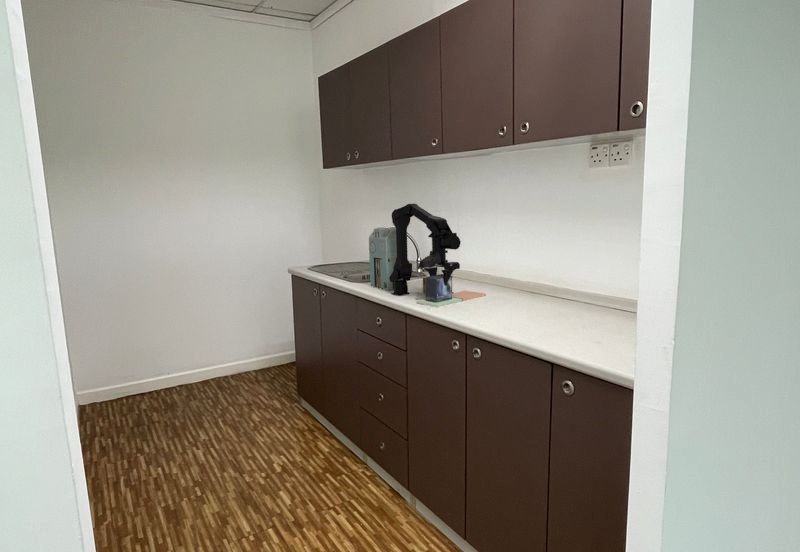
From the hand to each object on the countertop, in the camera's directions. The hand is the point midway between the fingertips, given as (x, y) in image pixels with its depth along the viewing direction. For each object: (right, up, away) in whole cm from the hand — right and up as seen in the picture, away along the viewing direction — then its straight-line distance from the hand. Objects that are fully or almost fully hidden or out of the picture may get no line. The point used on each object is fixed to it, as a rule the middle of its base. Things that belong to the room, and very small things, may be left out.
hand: (439, 284), depth 222 cm
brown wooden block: (+1, -4, +22) cm, 23 cm away
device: (-24, -2, +41) cm, 48 cm away
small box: (0, -7, +1) cm, 7 cm away
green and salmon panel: (+6, -7, +7) cm, 11 cm away
